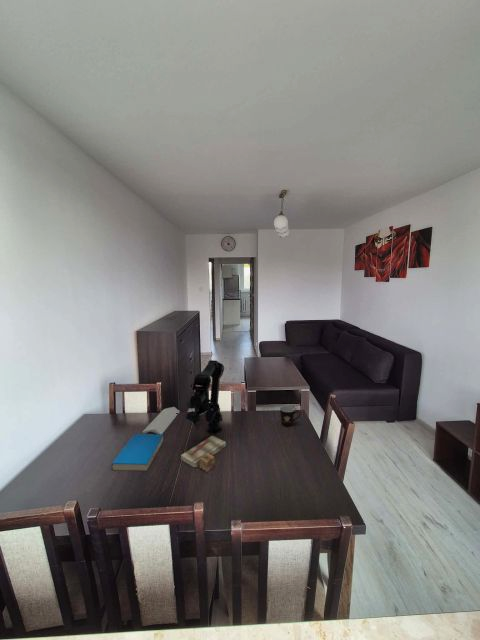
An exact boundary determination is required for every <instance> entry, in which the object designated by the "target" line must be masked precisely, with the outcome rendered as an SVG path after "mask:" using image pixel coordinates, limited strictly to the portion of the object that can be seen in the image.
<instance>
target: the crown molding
mask: <svg viewBox="0 0 480 640" xmlns="http://www.w3.org/2000/svg"><path fill="white" fill-rule="evenodd" d="M180 412H181V411H180V410H179V409H177V407H175V406H172V407H167V408H163V410H162V411H160V412H159V413H158V415H157V416H155V418H154V419H153V420H152V421H151V422H150V423H149V424H148V425H147V426H146V428H145V429H143V431H142V432H141V434H148V433H153V434H163V433H164V432H165V431H166V430H167V428H168V427H169V426H170V424H171V423H172V422H173V421H174V420H175V419H176V417H177V415H178V414H179V413H180ZM176 413H178V414H176Z"/></svg>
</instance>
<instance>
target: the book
mask: <svg viewBox="0 0 480 640" xmlns="http://www.w3.org/2000/svg"><path fill="white" fill-rule="evenodd" d="M163 442H164V434H163V433H162V434H155V433H153V434H152V433H151V434H150V433H134V434H133V435H132V436H131V438H130V439H129V440H128V442H127V443H126V445H125V446H124V447H123V448H122V450H121V451H120V453H119V454H118V455H117V456H116V458H115V459H114V461H113V462H112V463H111V469H112V471H145V472H146V471H148V470H149V467H150V466H151V464H152V462H153V460H154V458H155V457H156V455H157V453H158V451H159V449H160V448H161V445H162V444H163Z"/></svg>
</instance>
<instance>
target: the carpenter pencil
mask: <svg viewBox="0 0 480 640" xmlns="http://www.w3.org/2000/svg"><path fill="white" fill-rule="evenodd" d="M205 440H206V439H205ZM208 442H209V440H206V441H205V442H204V443H203V444H202V445H200V446H199V447H198V448H197V449H195V450H194V451H193V452H192V453H190V455H193V454H194V453H196V452H197V451H198V450H199V449H200V448H202V447H203V446H204V445H205V444H206V443H208Z"/></svg>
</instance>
